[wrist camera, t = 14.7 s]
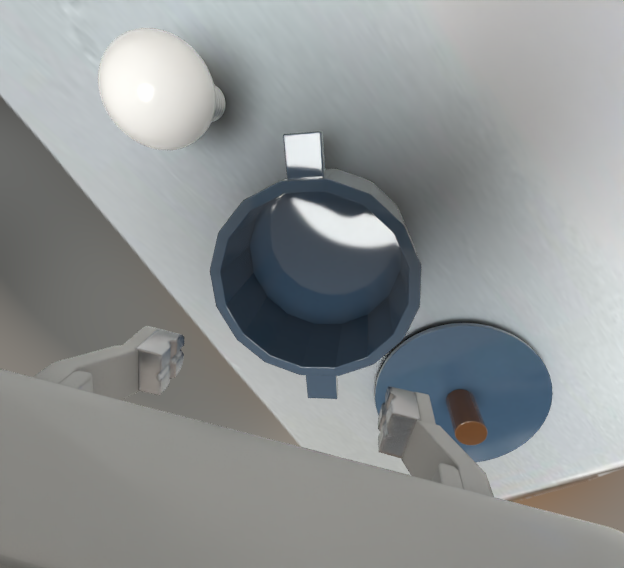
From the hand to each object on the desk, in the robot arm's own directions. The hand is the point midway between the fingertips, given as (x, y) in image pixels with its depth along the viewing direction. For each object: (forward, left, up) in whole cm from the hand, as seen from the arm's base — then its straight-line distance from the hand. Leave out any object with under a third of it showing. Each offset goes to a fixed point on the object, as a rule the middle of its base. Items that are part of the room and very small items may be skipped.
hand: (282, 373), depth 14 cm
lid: (-11, +15, -18) cm, 27 cm away
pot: (+1, +1, -19) cm, 19 cm away
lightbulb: (+9, -12, -19) cm, 24 cm away
